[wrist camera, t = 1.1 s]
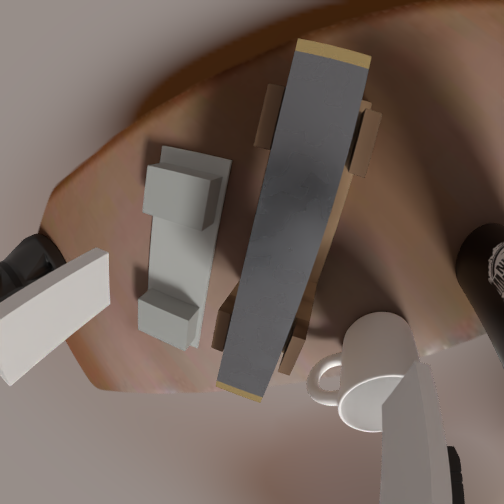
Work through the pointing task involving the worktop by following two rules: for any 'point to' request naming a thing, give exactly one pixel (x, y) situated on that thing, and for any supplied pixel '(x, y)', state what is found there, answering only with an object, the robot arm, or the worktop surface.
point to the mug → (367, 369)
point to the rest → (181, 242)
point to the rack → (353, 165)
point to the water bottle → (485, 279)
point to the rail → (292, 209)
